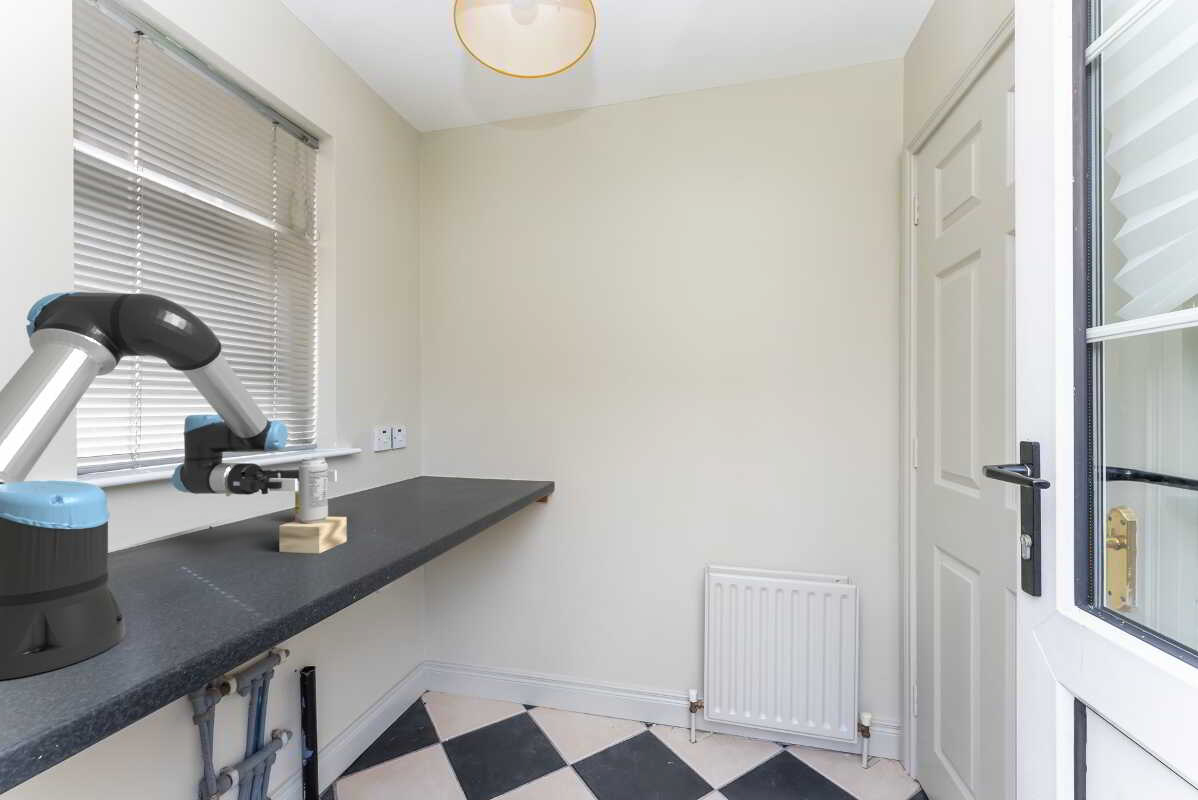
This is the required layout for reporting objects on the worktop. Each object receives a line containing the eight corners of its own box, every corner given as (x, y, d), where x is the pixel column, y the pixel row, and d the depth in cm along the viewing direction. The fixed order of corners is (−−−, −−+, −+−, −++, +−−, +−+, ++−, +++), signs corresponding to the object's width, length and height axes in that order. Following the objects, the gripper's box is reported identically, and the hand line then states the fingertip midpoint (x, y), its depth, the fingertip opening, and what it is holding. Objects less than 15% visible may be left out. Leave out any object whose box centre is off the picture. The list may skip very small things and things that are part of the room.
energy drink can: (319, 517, 128) (319, 456, 127) (333, 520, 124) (332, 457, 124) (294, 522, 123) (293, 458, 123) (307, 525, 119) (306, 460, 119)
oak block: (319, 553, 118) (319, 527, 118) (279, 551, 119) (279, 525, 119) (346, 541, 128) (346, 517, 128) (309, 540, 129) (309, 516, 129)
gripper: (277, 485, 139) (350, 487, 136) (191, 504, 114) (277, 506, 111) (277, 457, 139) (349, 458, 136) (190, 470, 114) (276, 471, 111)
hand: (317, 480), depth 123 cm, fingers open, 13 cm apart
